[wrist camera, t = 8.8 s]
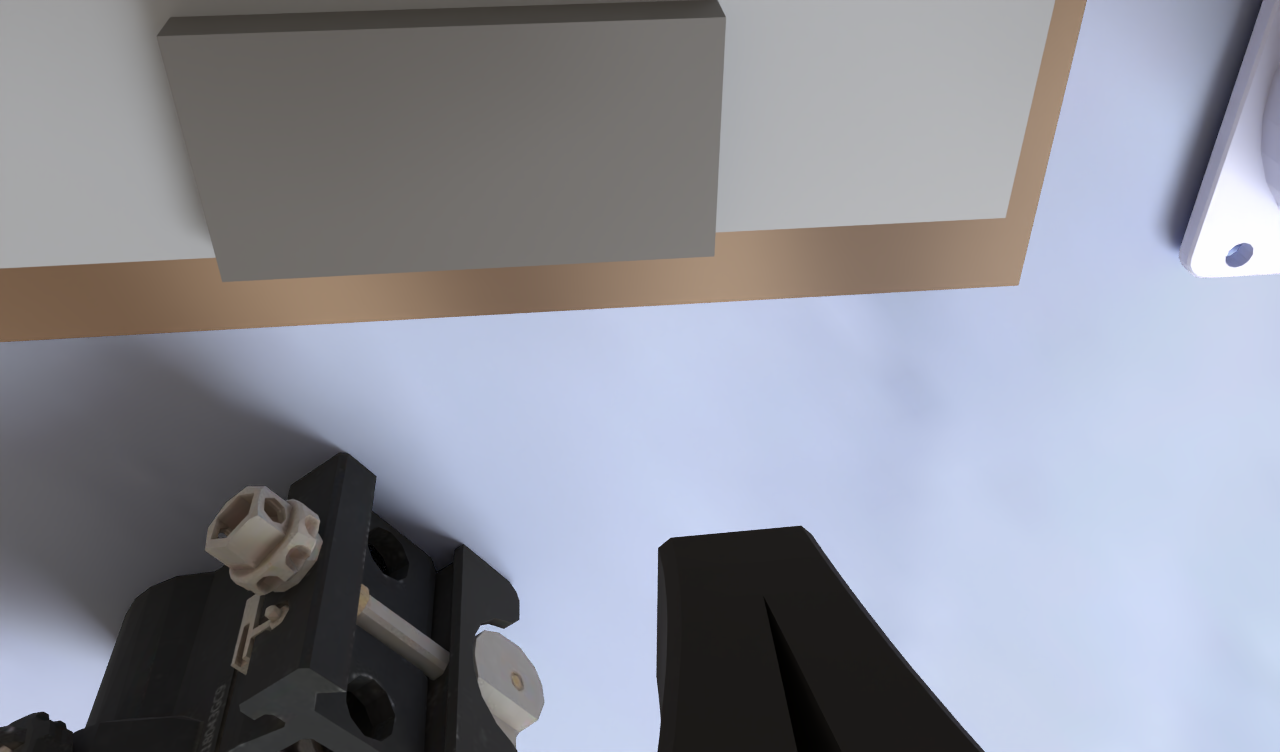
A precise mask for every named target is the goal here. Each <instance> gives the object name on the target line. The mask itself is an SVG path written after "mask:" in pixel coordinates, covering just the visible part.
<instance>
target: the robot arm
mask: <svg viewBox="0 0 1280 752" xmlns="http://www.w3.org/2000/svg"><path fill="white" fill-rule="evenodd" d="M1238 244H1241V246H1240V247H1239V249H1238V250H1237V251H1236V252H1235V253H1233V254H1232V255H1230V256H1226V255H1227V254H1228V252H1229V250H1230V249H1232V248H1233V247H1234V246H1236V245H1238ZM1179 259H1180V262H1181V264H1182V265H1183V266H1184V267H1185V268H1186V269H1187V270H1188V271H1189V272H1190V273H1191V274H1192V275H1194V276H1195V277H1200V278H1216V277H1234V276H1251V275H1269V274H1280V0H1263V2H1262V5H1261V8H1260V11H1259V14H1258V17H1257V20H1256V23H1255V26H1254V29H1253V32H1252V35H1251V38H1250V41H1249V44H1248V47H1247V50H1246V53H1245V56H1244V59H1243V62H1242V65H1241V68H1240V71H1239V74H1238V77H1237V80H1236V83H1235V86H1234V89H1233V92H1232V95H1231V98H1230V101H1229V104H1228V107H1227V110H1226V113H1225V116H1224V119H1223V122H1222V125H1221V127H1220V130H1219V133H1218V136H1217V139H1216V142H1215V145H1214V148H1213V151H1212V154H1211V157H1210V160H1209V163H1208V166H1207V169H1206V172H1205V175H1204V178H1203V181H1202V184H1201V187H1200V190H1199V193H1198V196H1197V199H1196V202H1195V205H1194V208H1193V211H1192V214H1191V217H1190V220H1189V223H1188V226H1187V229H1186V232H1185V235H1184V238H1183V241H1182V244H1181V247H1180V252H1179ZM656 677H657V685H658V694H659V703H660V714H661V726H660V737H659V745H658V752H984V750H983V749H982V748H981V747H980V746H979V745H978V744H977V743H976V741H975V740H974V739H973V738H972V737H971V736H970V735H969V734H968V733H967V731H966V730H965V729H964V728H963V727H962V726H961V725H960V723H959V722H958V721H957V720H956V719H955V718H954V716H953V715H952V714H951V713H950V712H949V711H948V709H947V708H946V707H945V706H944V705H943V703H942V702H941V701H940V700H939V699H938V698H937V696H936V695H935V694H934V693H933V692H932V691H931V689H930V688H929V687H928V686H927V685H926V683H925V682H924V681H923V680H922V679H921V678H920V676H919V675H918V674H917V673H916V672H915V671H914V669H913V668H912V667H911V666H910V664H909V663H908V662H907V661H906V660H905V658H904V657H903V656H902V655H901V653H900V652H899V651H898V650H897V648H896V647H895V646H894V645H893V643H892V642H891V641H890V640H889V638H888V637H887V636H886V635H885V633H884V632H883V631H882V629H881V628H880V627H879V626H878V624H877V623H876V622H875V620H874V619H873V618H872V617H871V615H870V614H869V613H868V611H867V610H866V609H865V608H864V606H863V605H862V604H861V602H860V601H859V600H858V598H857V597H856V596H855V594H854V593H853V592H852V590H851V589H850V588H849V586H848V585H847V584H846V582H845V581H844V579H843V578H842V577H841V575H840V574H839V573H838V571H837V570H836V568H835V567H834V566H833V564H832V563H831V561H830V560H829V559H828V557H827V556H826V554H825V553H824V552H823V550H822V549H821V547H820V546H819V544H818V543H817V542H816V540H815V539H814V537H813V536H812V534H811V533H809V532H808V531H807V530H806V529H805V528H803V527H802V526H793V527H782V528H771V529H760V530H750V531H739V532H728V533H717V534H706V535H695V536H684V537H674V538H670V539H669V540H667V541H666V542H665V543H664V544H663V545H661V546H660V547H659V548H658V601H657V673H656Z"/></svg>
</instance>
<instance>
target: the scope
mask: <svg viewBox="0 0 1280 752" xmlns="http://www.w3.org/2000/svg"><path fill="white" fill-rule="evenodd" d="M375 483H376V476H375V475H374V474H373V473H371V472H370V471H369V470H368V469H366V468H365V467H364V466H363V465H362V464H360V463H359V462H358V461H357V460H355V459H354V458H353V457H352V456H350V455H349V454H345V453H338V454H337V455H335V456H334V457H332V458H331V459H330V460H328V461H327V462H325V463H324V464H322V465H321V466H319V467H318V468H316V469H315V470H313V471H312V472H310V473H309V474H307V475H306V476H304V477H303V478H301V479H300V480H298V481H297V482H295V483H294V484H292V485H291V486H290V491H289V495H288V499H287V500H283V499H282V498H281V497H279V496H278V495H277V494H275V493H274V492H273V491H271V490H270V489H269V488H267V487H266V486H247V487H245V488H244V489H243V490H242V491H240V492H239V493H238V494H237V495H235V496H234V497H233V498H231V499H230V500H229V501H228V502H226V503H225V505H224V506H223V507H222V509H221V510H220V512H219V513H218V514H217V516H216V517H215V519H214V520H213V521H212V523H211V524H210V526H209V527H208V531H207V538H206V546H205V551H206V552H207V553H209V554H210V555H212V556H213V557H215V558H216V559H218V560H219V561H221V562H222V563H223V564H225V566H223V567H222V568H220V569H219V570H217V571H216V572H208V573H200V574H193V575H185V576H177V577H175V578H172V579H170V580H167V581H165V582H162V583H160V584H157V585H155V586H152V587H150V588H149V589H148V590H147V591H145V592H144V593H143V594H141V595H140V596H139V597H137V598H136V599H135V601H134V602H133V604H132V605H131V607H130V609H129V610H128V612H127V613H126V616H125V618H124V621H123V624H122V627H121V630H120V632H119V635H118V638H117V641H116V643H115V646H114V649H113V652H112V655H111V657H110V660H109V663H108V666H107V669H106V671H105V674H104V677H103V680H102V682H101V685H100V688H99V691H98V694H97V696H96V699H95V702H94V705H93V707H92V710H91V713H90V716H89V719H88V721H87V724H86V727H85V728H84V729H81V730H78V731H76V732H75V733H73V732H71V731H70V730H68V729H67V728H66V724H65V723H64V722H62V721H55V722H53V721H51V720H49V714H47V713H45V712H38V713H33V714H30V715H28V716H25V717H23V718H21V719H19V720H17V721H15V722H12V723H11V724H10V725H8V726H4V727H0V752H517V750H516V737H517V735H518V734H519V732H521V731H522V730H524V729H525V728H527V727H528V726H530V725H531V724H533V723H534V722H536V721H537V720H538V719H539V716H540V713H541V711H542V708H543V705H544V696H543V689H542V684H541V681H540V679H539V677H538V674H537V672H536V669H535V667H534V666H533V664H532V663H531V662H530V660H529V659H528V658H527V656H526V655H525V654H524V652H523V651H522V650H521V648H520V647H519V646H517V645H516V644H514V643H513V642H511V641H510V640H508V639H507V638H506V637H504V636H503V635H501V634H500V633H497V632H491V631H486V630H484V631H483V632H481V633H479V634H478V635H476V636H475V634H476V632H477V630H478V629H479V627H480V625H485V624H490V625H494V626H497V627H500V628H503V629H505V628H506V627H508V626H510V625H511V624H513V623H515V622H516V621H518V620H519V599H518V596H517V593H516V591H515V589H514V588H513V587H512V585H511V584H510V582H509V581H507V580H506V579H505V578H504V577H503V576H501V575H500V574H499V573H498V572H497V571H495V570H494V569H493V568H492V567H490V566H489V565H488V564H487V563H486V562H484V561H483V560H482V559H481V558H480V557H478V556H477V555H476V554H475V553H474V552H472V551H471V550H470V549H469V548H468V547H466V546H465V545H464V544H463V545H462V546H460V547H458V548H457V549H455V553H454V563H452V564H450V565H449V566H447V567H446V568H444V569H442V570H441V571H439V572H437V573H436V571H435V568H434V565H433V562H432V559H431V557H429V556H428V555H427V554H426V553H424V552H423V551H422V550H421V549H419V548H418V547H417V546H416V545H414V544H413V543H412V542H411V541H409V540H408V539H407V538H405V537H404V536H403V535H402V534H400V533H399V532H398V531H397V530H395V529H394V528H393V527H392V526H390V525H389V524H388V523H387V522H385V521H384V520H383V519H382V518H380V517H379V516H378V515H376V514H375V513H374V512H373V511H372V505H373V497H374V490H375ZM219 533H224V534H225V535H226V536H227V537H226V538H218V534H219ZM368 543H369V544H370V545H372V546H373V547H374V548H375V549H376V550H377V551H378V552H379V553H380V555H381V556H382V557H383V559H384V562H385V564H386V567H387V568H386V569H385V570H383V571H381V570H380V568H379V567H378V566H377V564H376V563H375V562H374V560H373V559H372V557H371V554H370V551H369V547H368Z"/></svg>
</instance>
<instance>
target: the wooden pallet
mask: <svg viewBox="0 0 1280 752" xmlns="http://www.w3.org/2000/svg"><path fill="white" fill-rule="evenodd" d="M1086 2H1087V0H1055V4H1054V8H1053V12H1052V17H1051V21H1050V25H1049V30H1048V34H1047V39H1046V43H1045V47H1044V52H1043V56H1042V60H1041V65H1040V69H1039V74H1038V78H1037V82H1036V87H1035V91H1034V95H1033V100H1032V104H1031V109H1030V113H1029V117H1028V122H1027V126H1026V130H1025V135H1024V139H1023V143H1022V148H1021V152H1020V157H1019V161H1018V165H1017V170H1016V174H1015V178H1014V183H1013V187H1012V192H1011V196H1010V200H1009V205H1008V209H1007V213H1006V218H994V219H974V220H954V221H934V222H914V223H894V224H874V225H854V226H835V227H815V228H795V229H775V230H755V231H735V232H716V235H715V255H714V257H694V258H675V259H656V260H637V261H618V262H599V263H579V264H560V265H541V266H522V267H503V268H484V269H464V270H445V271H426V272H407V273H388V274H368V275H349V276H330V277H311V278H292V279H273V280H253V281H234V282H222V279H221V275H220V272H219V268H218V264H217V260H216V258H198V259H178V260H158V261H139V262H119V263H99V264H79V265H59V266H39V267H19V268H0V342H11V341H29V340H47V339H64V338H82V337H100V336H118V335H136V334H154V333H172V332H190V331H208V330H226V329H244V328H262V327H280V326H298V325H316V324H334V323H352V322H370V321H388V320H406V319H423V318H441V317H459V316H477V315H495V314H513V313H531V312H549V311H567V310H585V309H603V308H621V307H639V306H657V305H675V304H693V303H711V302H729V301H747V300H765V299H783V298H800V297H818V296H836V295H854V294H872V293H890V292H908V291H926V290H944V289H962V288H980V287H998V286H1016V285H1019V280H1020V276H1021V272H1022V268H1023V264H1024V260H1025V255H1026V251H1027V247H1028V243H1029V239H1030V235H1031V230H1032V226H1033V222H1034V218H1035V214H1036V210H1037V206H1038V201H1039V197H1040V193H1041V189H1042V185H1043V181H1044V176H1045V172H1046V168H1047V164H1048V160H1049V156H1050V151H1051V147H1052V143H1053V139H1054V135H1055V131H1056V126H1057V122H1058V118H1059V114H1060V110H1061V106H1062V101H1063V97H1064V93H1065V89H1066V85H1067V81H1068V76H1069V72H1070V68H1071V64H1072V60H1073V56H1074V51H1075V47H1076V43H1077V39H1078V35H1079V31H1080V26H1081V22H1082V18H1083V14H1084V10H1085V6H1086Z"/></svg>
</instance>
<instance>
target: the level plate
mask: <svg viewBox="0 0 1280 752" xmlns="http://www.w3.org/2000/svg"><path fill="white" fill-rule="evenodd" d="M1054 4H1055V0H0V268H19V267H39V266H59V265H79V264H99V263H119V262H139V261H158V260H178V259H198V258H216V260H217V264H218V268H219V272H220V275H221V279H222V282H234V281H253V280H273V279H292V278H311V277H330V276H349V275H368V274H388V273H407V272H426V271H445V270H464V269H484V268H503V267H522V266H541V265H560V264H579V263H599V262H618V261H637V260H656V259H675V258H694V257H714V255H715V235H716V232H735V231H755V230H775V229H795V228H815V227H835V226H854V225H874V224H894V223H914V222H934V221H954V220H974V219H994V218H1006V213H1007V209H1008V205H1009V200H1010V196H1011V192H1012V187H1013V183H1014V178H1015V174H1016V170H1017V165H1018V161H1019V157H1020V152H1021V148H1022V143H1023V139H1024V135H1025V130H1026V126H1027V122H1028V117H1029V113H1030V109H1031V104H1032V100H1033V95H1034V91H1035V87H1036V82H1037V78H1038V74H1039V69H1040V65H1041V60H1042V56H1043V52H1044V47H1045V43H1046V39H1047V34H1048V30H1049V25H1050V21H1051V17H1052V12H1053V8H1054Z"/></svg>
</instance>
